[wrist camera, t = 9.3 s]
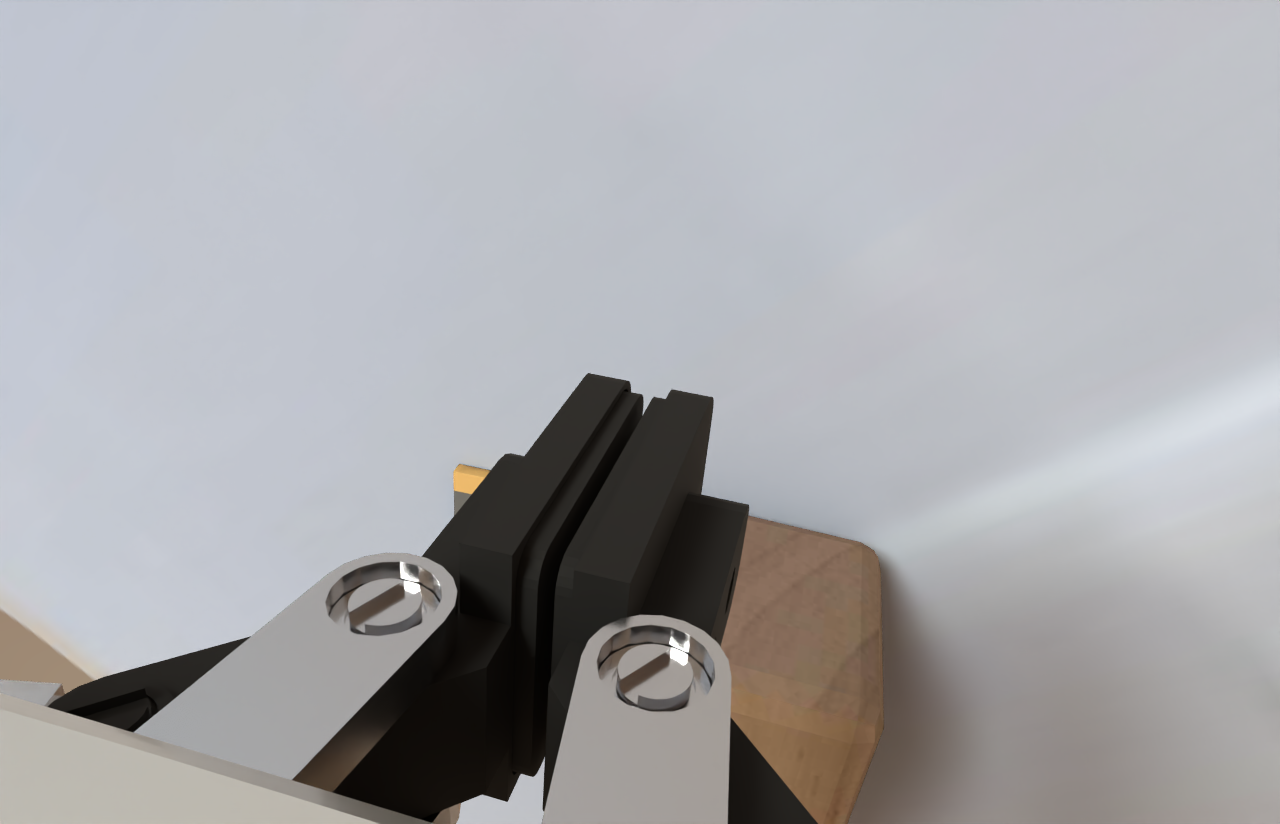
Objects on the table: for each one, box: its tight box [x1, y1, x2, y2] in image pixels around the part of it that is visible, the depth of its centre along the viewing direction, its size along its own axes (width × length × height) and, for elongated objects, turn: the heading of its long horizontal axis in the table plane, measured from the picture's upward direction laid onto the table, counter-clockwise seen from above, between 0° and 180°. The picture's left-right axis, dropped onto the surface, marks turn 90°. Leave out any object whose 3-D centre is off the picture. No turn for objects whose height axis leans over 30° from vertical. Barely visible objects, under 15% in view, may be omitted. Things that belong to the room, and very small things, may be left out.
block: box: [721, 516, 884, 824], centre depth 37 cm, size 10×10×20 cm
